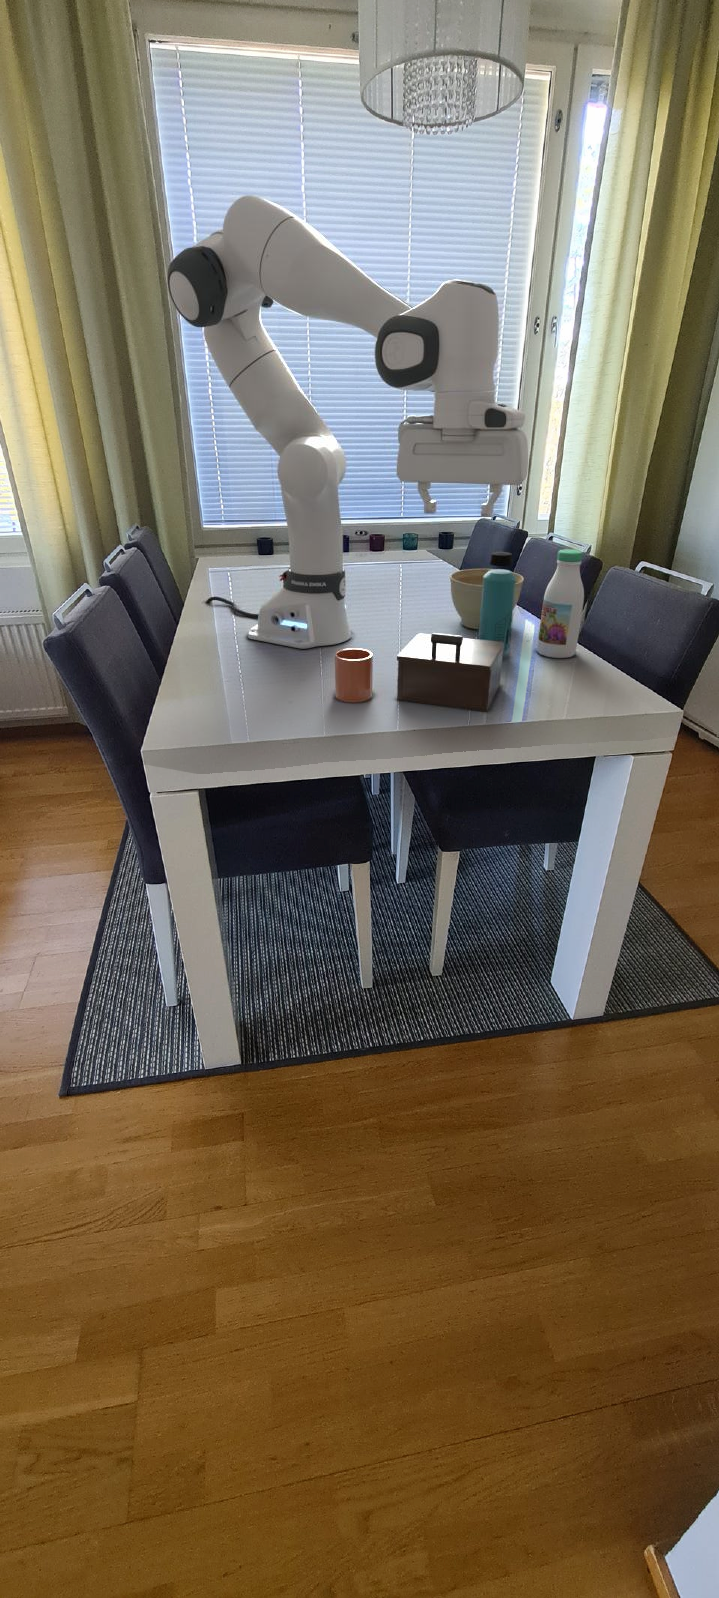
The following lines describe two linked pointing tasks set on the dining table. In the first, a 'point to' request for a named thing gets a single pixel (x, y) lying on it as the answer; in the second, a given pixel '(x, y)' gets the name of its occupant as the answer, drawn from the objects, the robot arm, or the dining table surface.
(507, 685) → the dining table surface
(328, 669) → the dining table surface
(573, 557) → the milk bottle
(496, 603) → the beverage bottle
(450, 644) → the lid
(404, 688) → the box
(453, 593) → the planter bowl
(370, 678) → the cup
